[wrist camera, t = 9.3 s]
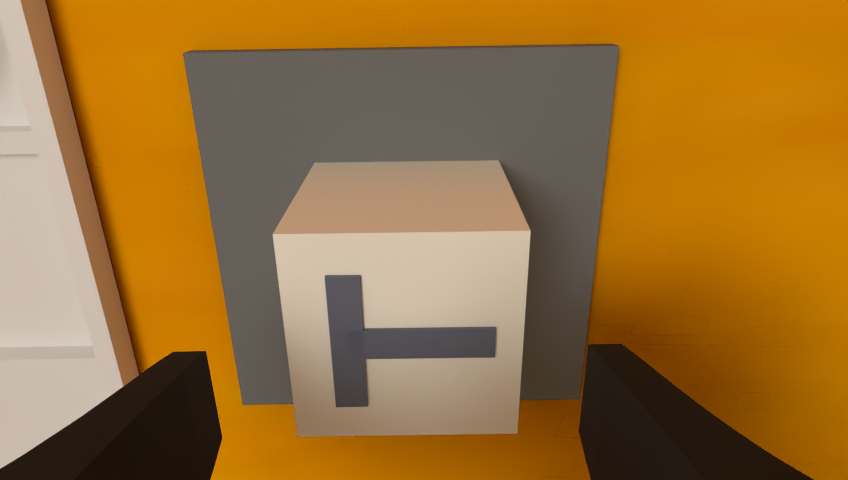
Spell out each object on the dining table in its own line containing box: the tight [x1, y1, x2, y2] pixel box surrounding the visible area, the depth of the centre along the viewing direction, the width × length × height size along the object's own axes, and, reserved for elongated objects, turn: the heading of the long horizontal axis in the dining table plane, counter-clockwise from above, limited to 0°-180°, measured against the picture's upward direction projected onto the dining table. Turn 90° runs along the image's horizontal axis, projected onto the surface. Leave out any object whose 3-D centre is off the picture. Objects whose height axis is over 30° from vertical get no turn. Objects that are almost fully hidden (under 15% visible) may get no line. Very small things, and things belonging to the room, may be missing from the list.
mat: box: [183, 44, 619, 405], centre depth 17 cm, size 11×11×1 cm
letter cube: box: [273, 160, 531, 437], centre depth 15 cm, size 5×5×5 cm
